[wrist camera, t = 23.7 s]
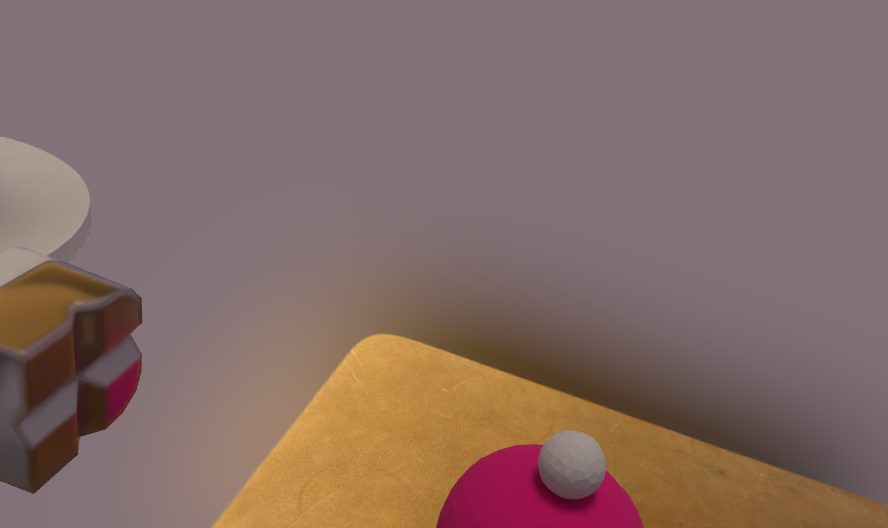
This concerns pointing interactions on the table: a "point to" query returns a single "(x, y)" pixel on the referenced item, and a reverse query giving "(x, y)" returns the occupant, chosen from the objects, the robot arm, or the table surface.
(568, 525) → the pepper mill
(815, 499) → the table surface
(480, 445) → the table surface
